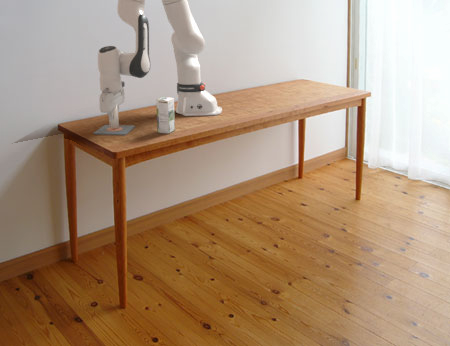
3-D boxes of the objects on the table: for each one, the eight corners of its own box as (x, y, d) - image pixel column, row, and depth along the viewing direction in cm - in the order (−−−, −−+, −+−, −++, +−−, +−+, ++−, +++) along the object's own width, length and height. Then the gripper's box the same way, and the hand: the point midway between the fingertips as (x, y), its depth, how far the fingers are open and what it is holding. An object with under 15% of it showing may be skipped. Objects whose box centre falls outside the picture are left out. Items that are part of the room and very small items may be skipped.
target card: (135, 127, 243) (134, 125, 243) (125, 135, 231) (124, 133, 231) (105, 126, 245) (105, 124, 245) (93, 134, 233) (93, 132, 233)
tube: (120, 125, 239) (118, 103, 236) (117, 128, 236) (115, 105, 232) (111, 125, 240) (109, 103, 236) (108, 128, 236) (106, 105, 233)
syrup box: (163, 129, 239) (161, 96, 234) (175, 130, 237) (174, 97, 232) (157, 132, 234) (155, 99, 229) (169, 134, 232) (168, 100, 227)
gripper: (108, 91, 221) (112, 124, 226) (126, 81, 240) (128, 112, 245) (94, 91, 222) (97, 124, 227) (112, 81, 241) (115, 111, 246)
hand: (113, 117), depth 236 cm, fingers closed on tube, 4 cm apart
